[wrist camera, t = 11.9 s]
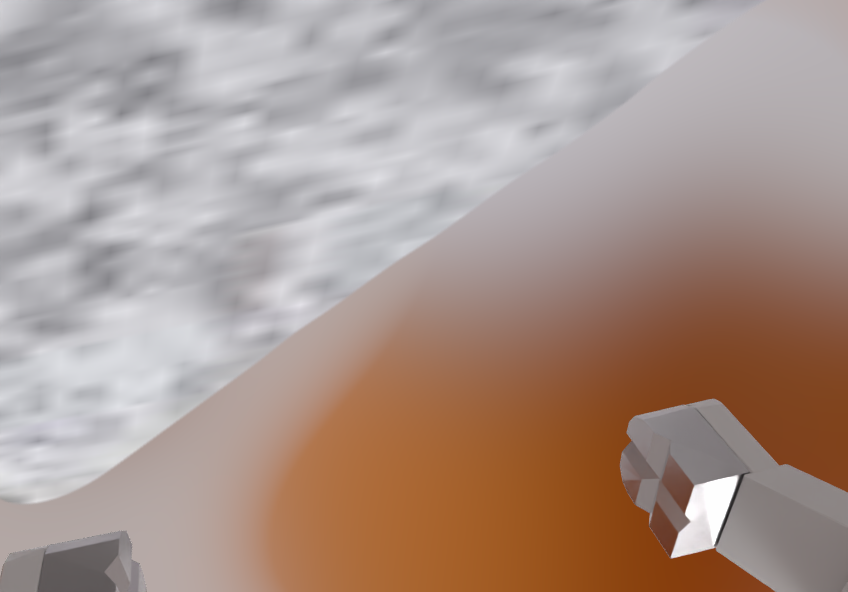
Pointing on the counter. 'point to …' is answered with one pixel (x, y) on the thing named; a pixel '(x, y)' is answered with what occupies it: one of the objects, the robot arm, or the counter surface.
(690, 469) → the robot arm
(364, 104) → the counter surface
